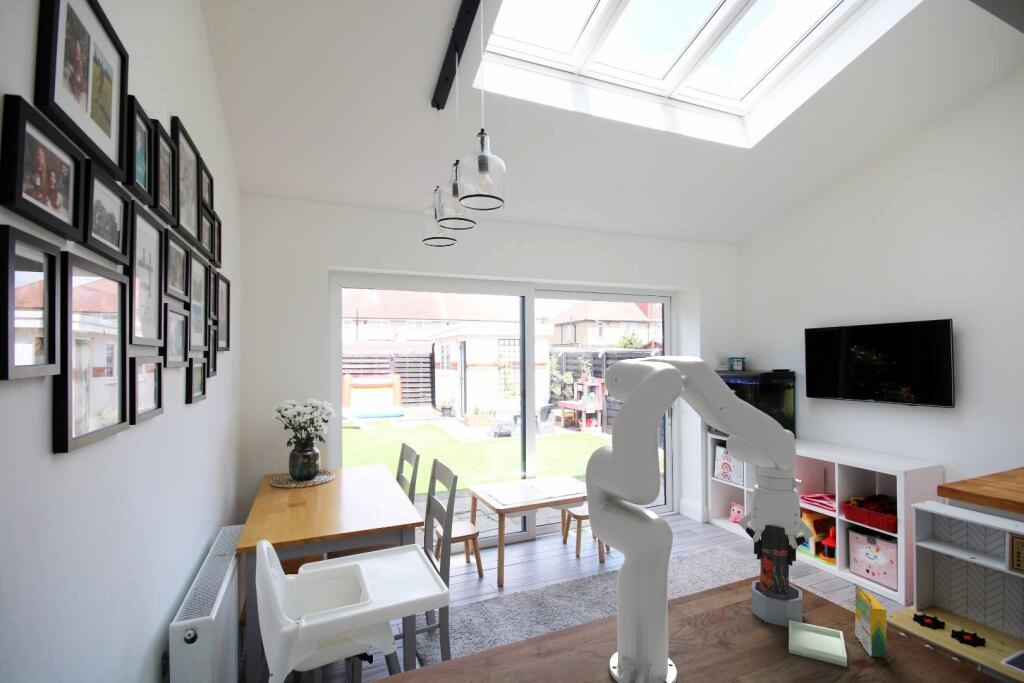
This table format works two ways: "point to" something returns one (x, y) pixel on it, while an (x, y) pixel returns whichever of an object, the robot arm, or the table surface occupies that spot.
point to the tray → (817, 643)
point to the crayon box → (870, 623)
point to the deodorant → (774, 560)
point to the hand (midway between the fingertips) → (774, 559)
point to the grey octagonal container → (777, 605)
